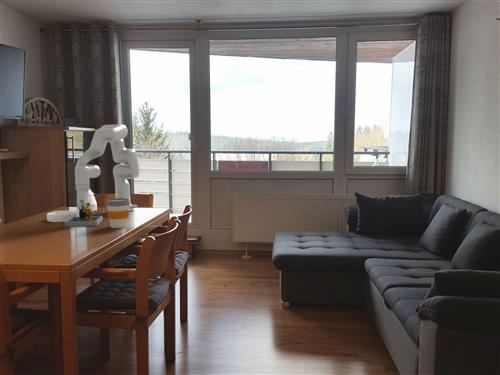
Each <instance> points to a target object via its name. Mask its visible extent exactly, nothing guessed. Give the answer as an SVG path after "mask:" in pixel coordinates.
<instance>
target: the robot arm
mask: <svg viewBox="0 0 500 375" xmlns="http://www.w3.org/2000/svg"><path fill="white" fill-rule="evenodd" d="M128 133H129V130H128V128H127V126H126V125H125V124H104V125H102V126H101V127H100V128H98V129H96V130H95V132H94V134H93V137H92V140H91V143H90V146H89V148H88V149H86V151H84V152H83V153H82V154H81V155H80V156H79V158H78V159H77V161H76V165H75V166H74V177H75V178H74V179H75V180H74V181H75V191H76V209H77V208H79V219H85V208H86V206H87V203H89V192H88V190H91V187H90V186H91V184H90V179H91V178H92V179H95V178H98V177H100V175H101V171H102V170H101V168H100V167H99V166H98V165H97V164H89V162H90V161H92V160H93V159H94V160H95V159H97V158H98V157H101V156H103V154H104V153H105V151H106V147H107V144H108V143H109V144H110V147H111V148H110V149H111V153H112V160H113V162H115V163H117V164H116V165H114V166H113V169H112V174H113V178H114V189H115V191H114V192H115V198H127V199H129V202H130V204H129V212H132V211H134V209H133V208H136V209H137V208H138V205H137V204H132V203H131V185H130V182H129V181H128V179H130V180H131V179H137V178H138V177H139V176H140V165H139V159H138V158H139V157H138V153H137V151H136V150H135V149H134V148H126V146H125V141H124V139H125V138H126V137H128Z"/></svg>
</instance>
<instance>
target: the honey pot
mask: <svg viewBox="0 0 500 375" xmlns="http://www.w3.org/2000/svg"><path fill="white" fill-rule="evenodd" d="M88 192H89V203H90V207H91V211H92V212H96V211H97V210H98V206H97V201H96V197H95V196H94V192H93V191H92V190H91V189H90V190H88ZM95 210H96V211H95ZM76 211H78V212H79V208H77V207H76Z"/></svg>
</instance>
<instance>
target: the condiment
mask: <svg viewBox="0 0 500 375" xmlns="http://www.w3.org/2000/svg"><path fill="white" fill-rule="evenodd" d="M91 216H92V212H91V207H90V203H87V206H86V208H85V219H80V221H79V222H82V221H92V218H91Z"/></svg>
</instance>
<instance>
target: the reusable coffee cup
mask: <svg viewBox="0 0 500 375" xmlns="http://www.w3.org/2000/svg"><path fill="white" fill-rule="evenodd" d="M130 203H131V201H130V202H129V199H127V198H116V197H115V198H108V199H106V201H105V206H106V214H107V219H108V221H109V226H110V228H112V229H122V228H127V227H128V222H129V218H130V211H129V204H130Z"/></svg>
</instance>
